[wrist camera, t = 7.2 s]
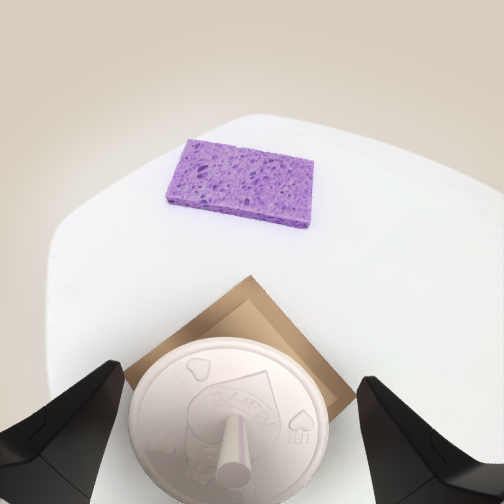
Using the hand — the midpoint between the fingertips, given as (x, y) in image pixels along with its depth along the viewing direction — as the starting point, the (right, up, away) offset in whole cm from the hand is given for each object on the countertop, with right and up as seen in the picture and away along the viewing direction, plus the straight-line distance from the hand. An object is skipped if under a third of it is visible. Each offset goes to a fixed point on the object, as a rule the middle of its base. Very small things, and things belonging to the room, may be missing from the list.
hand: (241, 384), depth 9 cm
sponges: (0, +11, +17) cm, 20 cm away
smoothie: (-1, -4, +7) cm, 8 cm away
